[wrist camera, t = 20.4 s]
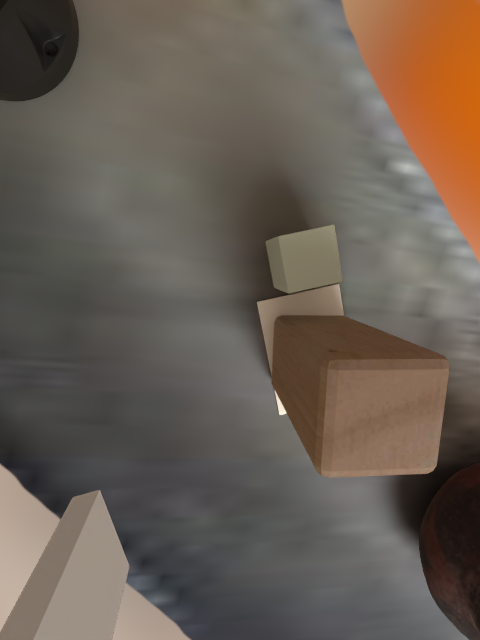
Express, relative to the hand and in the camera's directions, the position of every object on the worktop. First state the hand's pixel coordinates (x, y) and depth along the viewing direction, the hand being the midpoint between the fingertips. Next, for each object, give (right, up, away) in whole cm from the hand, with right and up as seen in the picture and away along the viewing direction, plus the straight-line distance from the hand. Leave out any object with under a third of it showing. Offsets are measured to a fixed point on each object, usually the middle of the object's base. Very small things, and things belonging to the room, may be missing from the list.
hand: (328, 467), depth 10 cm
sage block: (+4, +12, +33) cm, 35 cm away
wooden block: (+6, 0, +35) cm, 36 cm away
